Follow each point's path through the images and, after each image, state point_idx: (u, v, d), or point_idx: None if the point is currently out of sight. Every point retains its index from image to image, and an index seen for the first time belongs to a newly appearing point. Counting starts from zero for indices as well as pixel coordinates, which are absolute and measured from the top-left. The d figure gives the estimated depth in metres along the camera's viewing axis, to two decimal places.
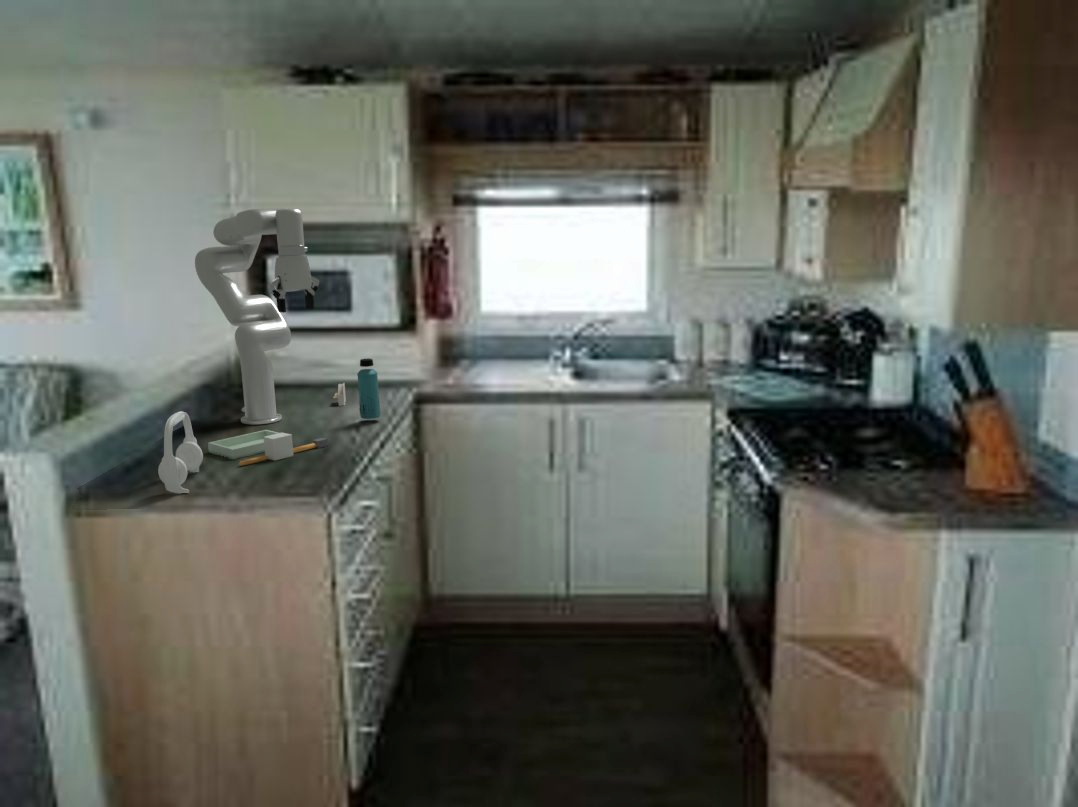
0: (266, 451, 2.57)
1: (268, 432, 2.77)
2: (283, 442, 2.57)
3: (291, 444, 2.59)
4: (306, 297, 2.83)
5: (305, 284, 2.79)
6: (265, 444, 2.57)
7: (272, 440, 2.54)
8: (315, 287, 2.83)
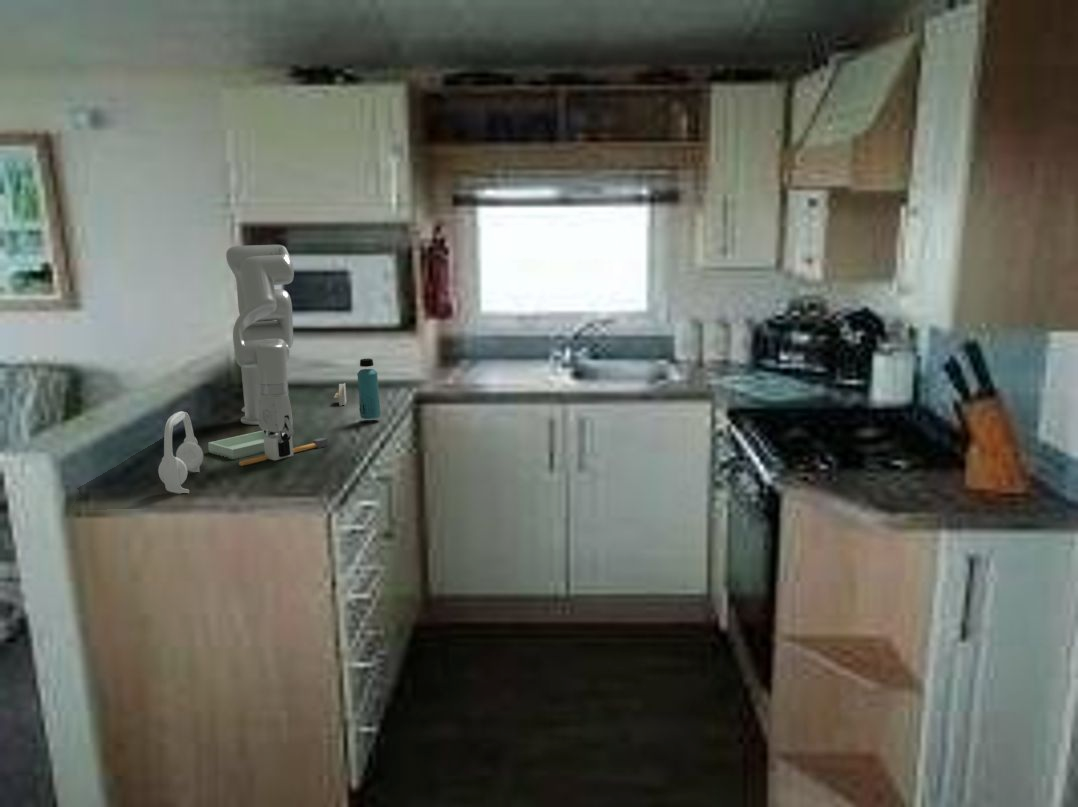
0: (266, 451, 2.57)
1: None
2: None
3: (291, 444, 2.59)
4: None
5: None
6: (265, 444, 2.57)
7: (272, 440, 2.54)
8: None
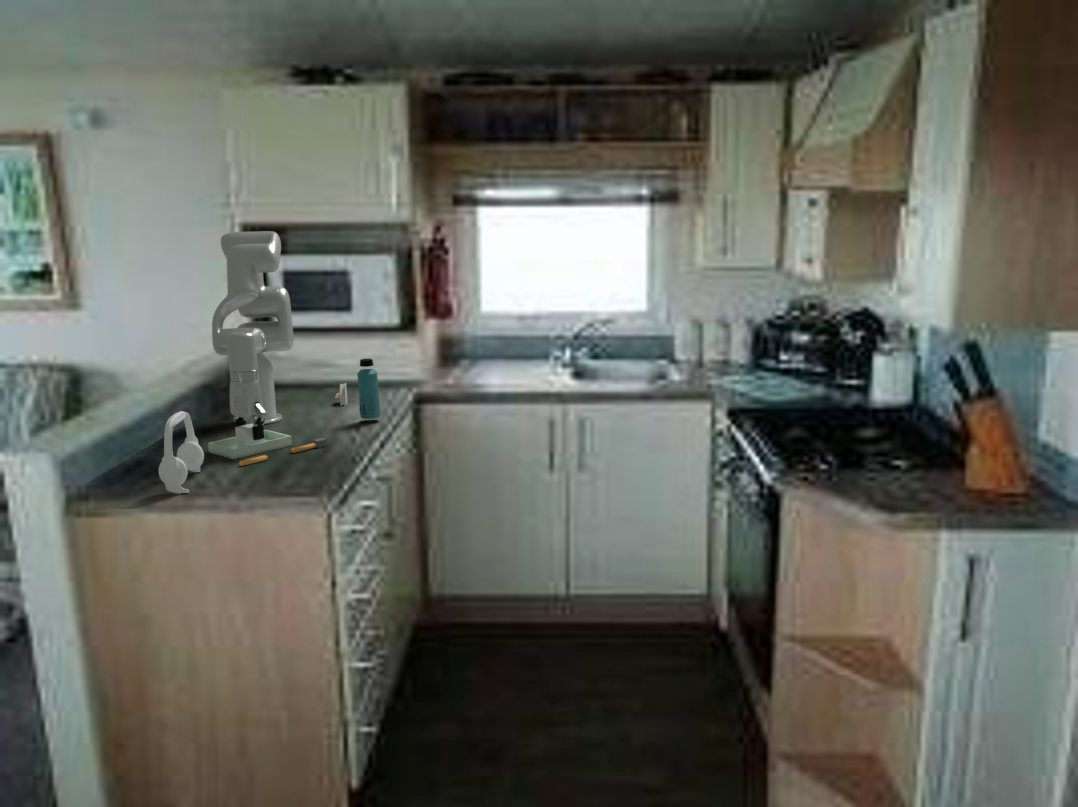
0: (238, 441, 2.66)
1: (268, 432, 2.77)
2: None
3: None
4: (238, 424, 2.69)
5: None
6: (237, 434, 2.66)
7: (243, 430, 2.63)
8: None
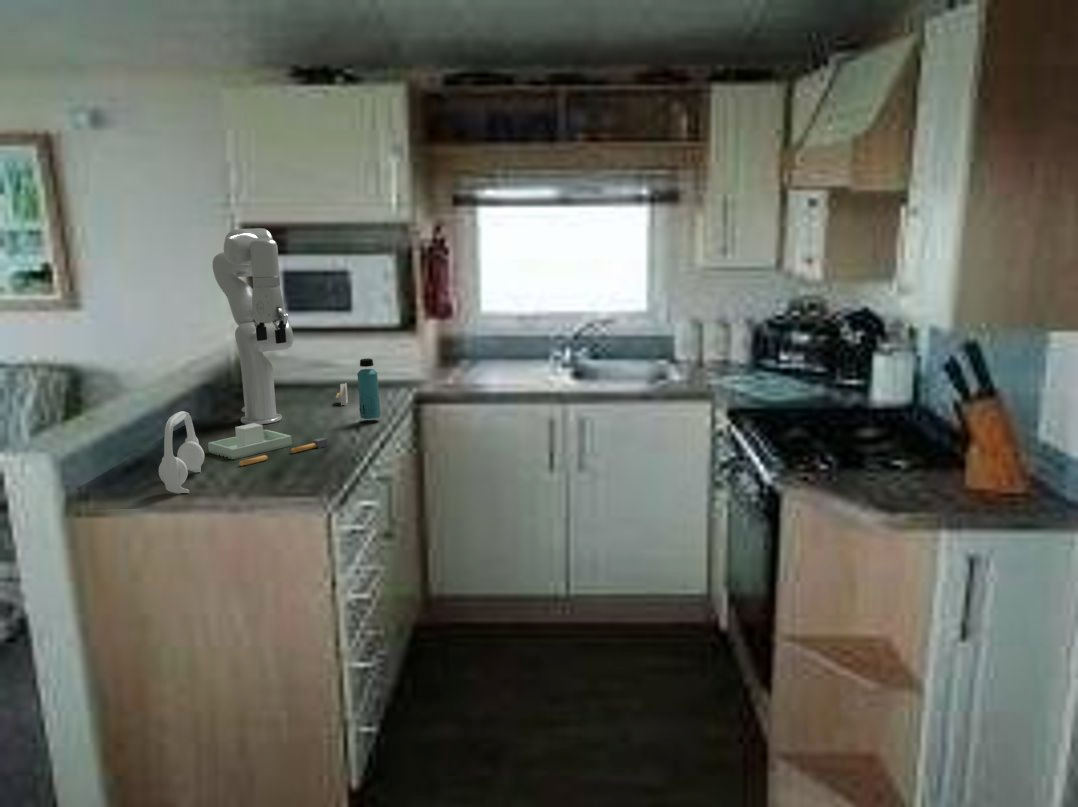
0: (238, 441, 2.66)
1: (268, 432, 2.77)
2: (255, 432, 2.66)
3: (262, 434, 2.68)
4: (259, 329, 2.79)
5: None
6: (237, 434, 2.66)
7: (243, 430, 2.63)
8: None
